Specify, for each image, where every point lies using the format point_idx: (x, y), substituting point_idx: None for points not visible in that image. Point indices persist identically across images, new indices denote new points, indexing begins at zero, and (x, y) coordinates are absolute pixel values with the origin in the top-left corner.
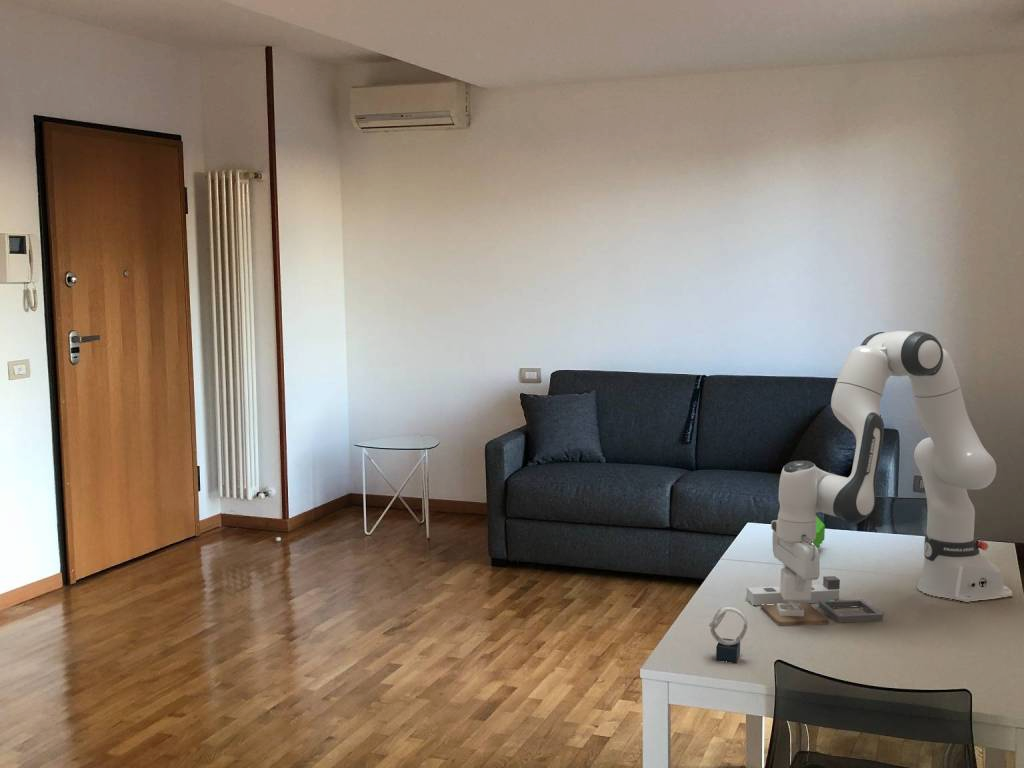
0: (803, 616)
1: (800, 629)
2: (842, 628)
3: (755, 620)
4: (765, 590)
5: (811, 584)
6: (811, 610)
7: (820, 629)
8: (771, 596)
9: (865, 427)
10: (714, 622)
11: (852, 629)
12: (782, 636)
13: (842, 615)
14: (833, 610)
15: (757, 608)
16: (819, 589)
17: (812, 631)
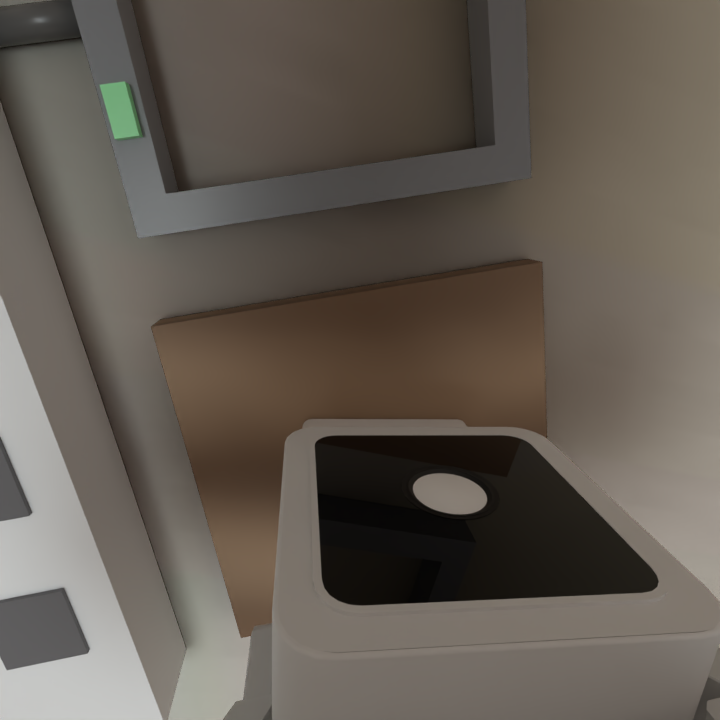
0: (465, 422)
1: (599, 453)
2: (620, 181)
3: None
4: (61, 656)
5: (646, 533)
6: (336, 341)
7: (616, 338)
8: (134, 600)
9: None
10: None
11: (650, 109)
12: (682, 556)
13: (510, 129)
14: (384, 172)
15: (231, 630)
16: None
17: (641, 393)
